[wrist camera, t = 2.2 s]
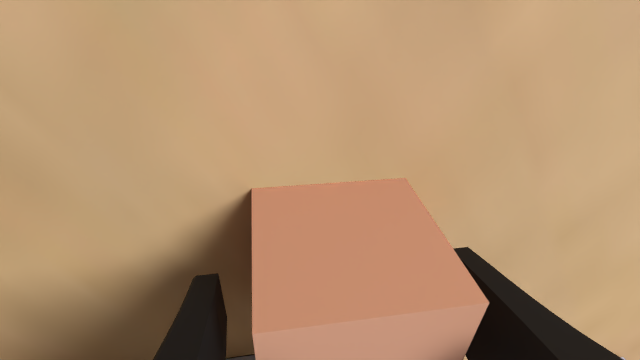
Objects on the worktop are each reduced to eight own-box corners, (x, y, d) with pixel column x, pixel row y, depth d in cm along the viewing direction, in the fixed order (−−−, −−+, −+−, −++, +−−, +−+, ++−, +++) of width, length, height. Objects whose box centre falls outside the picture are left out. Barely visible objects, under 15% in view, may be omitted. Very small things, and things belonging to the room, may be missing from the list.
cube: (404, 176, 12) (489, 302, 7) (384, 278, 14) (438, 411, 10) (251, 187, 11) (252, 334, 7) (261, 292, 14) (266, 442, 9)
